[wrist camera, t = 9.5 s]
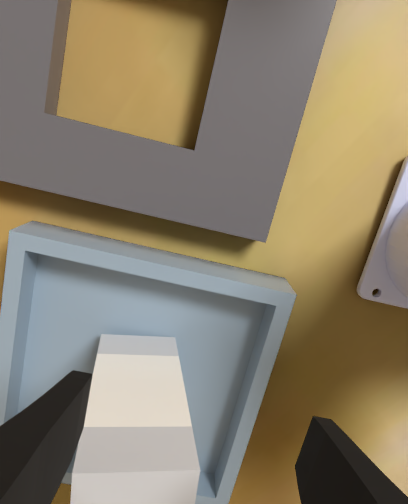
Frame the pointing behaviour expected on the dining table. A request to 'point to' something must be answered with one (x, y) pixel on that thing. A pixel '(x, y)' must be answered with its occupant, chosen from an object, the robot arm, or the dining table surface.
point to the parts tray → (143, 330)
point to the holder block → (157, 153)
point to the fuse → (136, 427)
